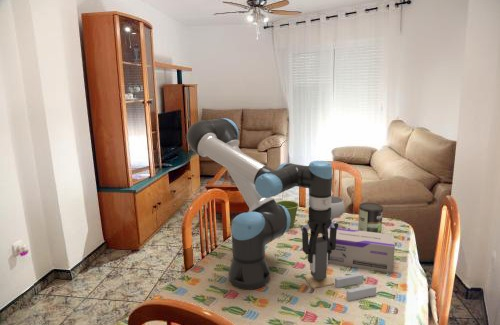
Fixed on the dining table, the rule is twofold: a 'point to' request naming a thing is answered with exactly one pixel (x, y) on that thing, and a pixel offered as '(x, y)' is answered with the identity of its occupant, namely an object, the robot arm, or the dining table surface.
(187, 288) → the dining table surface
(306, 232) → the robot arm
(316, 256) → the dark grey rectangular block
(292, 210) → the plant pot
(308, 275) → the pad
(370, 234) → the surgical sutures box
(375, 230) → the coffee can
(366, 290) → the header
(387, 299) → the dining table surface
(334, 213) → the chalice
